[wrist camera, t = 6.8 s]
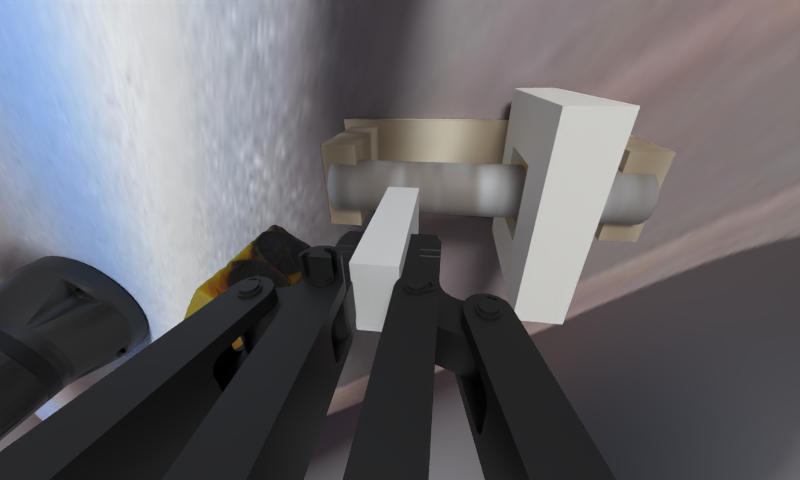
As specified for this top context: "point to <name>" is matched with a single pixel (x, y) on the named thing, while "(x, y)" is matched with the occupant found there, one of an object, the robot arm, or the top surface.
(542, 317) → the upright white plank
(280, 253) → the yellow cube with hole
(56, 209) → the top surface
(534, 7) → the top surface
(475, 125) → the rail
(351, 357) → the top surface
